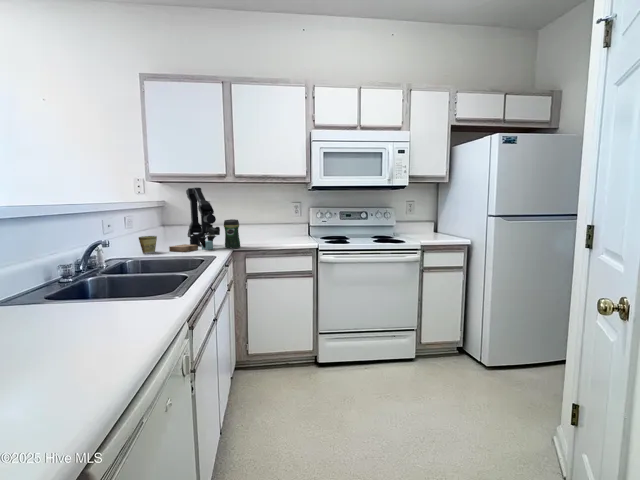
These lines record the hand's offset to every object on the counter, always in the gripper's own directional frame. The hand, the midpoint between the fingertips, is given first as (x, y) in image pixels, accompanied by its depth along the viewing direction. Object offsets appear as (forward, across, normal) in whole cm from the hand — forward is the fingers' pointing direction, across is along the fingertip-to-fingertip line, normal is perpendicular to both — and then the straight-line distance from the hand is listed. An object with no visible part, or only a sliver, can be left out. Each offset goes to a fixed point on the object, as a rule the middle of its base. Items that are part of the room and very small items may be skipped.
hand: (207, 247), depth 226 cm
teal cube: (+1, 0, 0) cm, 1 cm away
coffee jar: (+1, +9, -13) cm, 16 cm away
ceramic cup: (+1, -23, +25) cm, 34 cm away
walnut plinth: (+1, -10, +10) cm, 14 cm away
